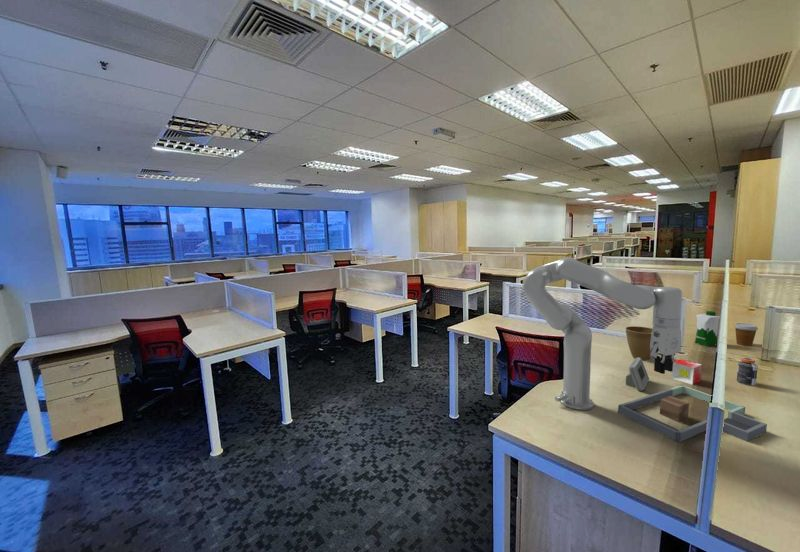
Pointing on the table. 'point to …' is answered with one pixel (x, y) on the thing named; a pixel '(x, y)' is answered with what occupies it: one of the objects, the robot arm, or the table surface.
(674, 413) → the walnut block
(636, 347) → the plant pot
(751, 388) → the table surface
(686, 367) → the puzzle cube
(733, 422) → the box
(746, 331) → the disposable coffee cup
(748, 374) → the pill bottle
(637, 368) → the digital clock
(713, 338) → the milk carton
